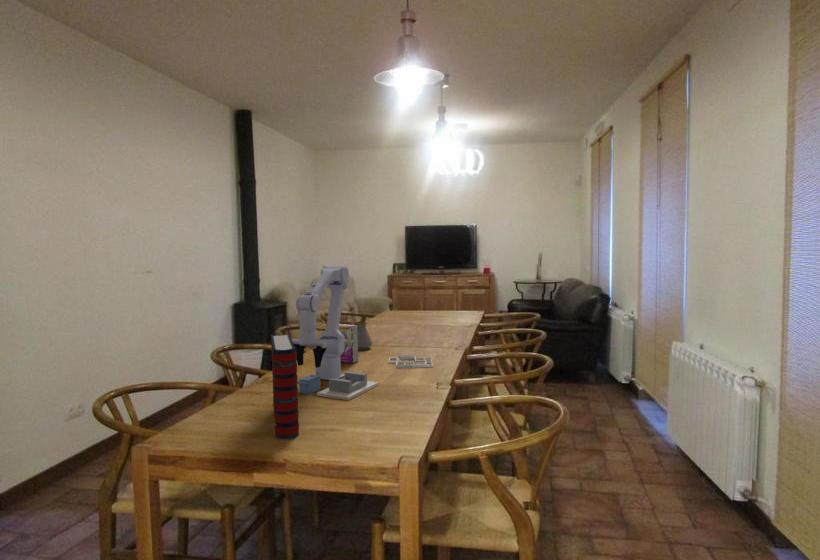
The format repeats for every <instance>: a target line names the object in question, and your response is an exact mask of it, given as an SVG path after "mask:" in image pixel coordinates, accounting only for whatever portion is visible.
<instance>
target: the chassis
mask: <svg viewBox="0 0 820 560" xmlns="http://www.w3.org/2000/svg"><path fill="white" fill-rule="evenodd" d="M344 375H345V376H344V377H343V378H339V379H334V378H331V379H329V380H328V387H326V388H325V389H323V390H320V391H318V392H317V393H316V396H318V397H324V398H330V399H338V400H343V401H344V400H345V401H351V400H353V399H354V398H356V397H358V396H360V395H362V394H364V393H366V392H367V391H370V390H371V389H373V388H375V387H377V386H379V382H377V381H376V382H375V381H370V380H368V374H367V373H362V372H354V371H346V372H344Z"/></svg>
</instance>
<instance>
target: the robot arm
mask: <svg viewBox="0 0 820 560" xmlns="http://www.w3.org/2000/svg"><path fill="white" fill-rule="evenodd" d="M349 279H350V273H349V269H348V267H347V266H346V265H340V266H339V265H323V266H322V268H321V269H320V276H319V278H318V280H317V281H316V282H314V283H311V285H310V286H309V287H308V288H307V290H306V291H305V293H303V294H300V295H299V296H298V297H297V299H296V301H295V308H296V310H297V316H299V332H300V333H299V338H291V339H292V342H293V344H294V347H295V348H296V352H297V360H296V362H297V367H298V366H302V365H304V355H305V353H304V352H305V347H312V353H313V356H314V365H315V366H314V367H315V375H319V376H322V378H321V379H320V380H327V381H329V379H331V378H334V379H343V378H345V373H344V374H342V371H341V369H342V368H341V363H342V362H340V355H342V353H343V352H344V349H345V343H344V341H345V337H344V335H343V334H342V333H340V332H339V324H341V315H342V307H343V299H344V293H345V292H344V291H345V290H346V289H348V286H349ZM326 289H329V290H330V299H329V304H328V305H329V306H328V310H327V311H328V313H327V320H326V326H325V330H324V331H322V332H321V333H320V334H319V336H318V339H317V314H316V313H317V312H316V311H318V309H319V305H320V303H321V302H320V301H321V299H322V298H323V296H324V295H325V293H326ZM331 338H338V339H331ZM313 347H314V348H313Z"/></svg>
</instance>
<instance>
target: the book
mask: <svg viewBox="0 0 820 560" xmlns="http://www.w3.org/2000/svg"><path fill="white" fill-rule="evenodd" d="M291 336H292V335H291V334H290V333H287V334H285V335H284V334H283V335H273V334H270V341H271V342H270V343H271V344H270V345H271V347H270V348H271V349H270V350H271V370H272V373H271V374H272V376H271V377H272V398H273V399H272V400H273V403H272V405H273V417H274V424H275V425H274V426H273V428H274V434H275V438H276V439H278V440H292V439H294V438H296V437H299V436H300V435H299V434H300V422H299V418H300V417H299V416H300V415H299V413H300V412H299V398H298V394H299V393H298V392H299V386H298V384H297V382H298V380H299V379H298V363H297V352H296V348H295V347H294V344H293V342H292V339H293V338H292V337H291Z"/></svg>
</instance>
